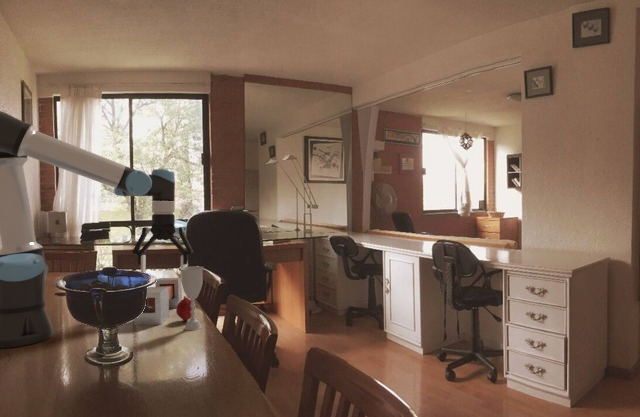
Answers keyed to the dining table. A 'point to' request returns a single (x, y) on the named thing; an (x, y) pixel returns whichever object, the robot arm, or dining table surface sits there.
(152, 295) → the plate
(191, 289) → the chalice
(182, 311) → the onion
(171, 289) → the pink square post
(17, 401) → the dining table surface
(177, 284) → the socket
